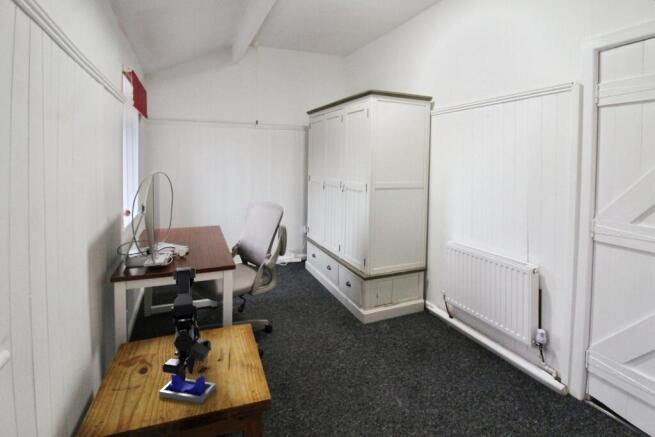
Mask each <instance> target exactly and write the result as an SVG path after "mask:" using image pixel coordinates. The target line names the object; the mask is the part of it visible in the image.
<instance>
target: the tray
mask: <svg viewBox="0 0 655 437" xmlns="http://www.w3.org/2000/svg"><path fill="white" fill-rule="evenodd" d="M196 380H197V379H192V378H191V379H190V378H186V379H185V382H187V383H188V384H191V385H195V384H196ZM171 382H172V380H170V381H168V383H167V384H165V385H164V386H163V387H162V388H161V389H160V390H158V392H159V393H158V396H159V397H160V398H166V399H173V400H178V401H181V402H182V401H183V402H188V403H194V404H200V405H203V404H204V403H205V402H206V401H207V399H209V397H210V396H211V395H212V394H213V393H214V391H215V390H216V389H217V385H216V384H217V383H215V382H209V381H205V392H204V393H203V394H202V395H201V396H197V395H193V394H189V393H185V394H183V393H178V392H172V391H169V384H170V383H171Z"/></svg>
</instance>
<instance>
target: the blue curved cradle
mask: <svg viewBox="0 0 655 437" xmlns="http://www.w3.org/2000/svg"><path fill="white" fill-rule="evenodd" d="M170 374H171V375H170V376H171V378H170V379H171V380H172V382H171V383H170V384H169V391H172V392H178V393H183V394H185V393H189V394H193V395H197V396H201V395H202V394H203V393H204V392H205V382H206V378H205V375H200V376H199V377H198V378H197V379H195V380H196V384H195V385H191V384H188V383H187V382H185V381H182V380H181V379H180V377H179V376H178V374H172V373H170ZM171 380H170V381H171Z"/></svg>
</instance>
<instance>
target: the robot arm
mask: <svg viewBox="0 0 655 437" xmlns="http://www.w3.org/2000/svg"><path fill="white" fill-rule="evenodd" d="M196 272H197V271H196V268H194V267H193V266H186V267H176V269H175V270H172V275H173V277H172V278H173V281H175V286H176V287H177V297H176V298H175V299H174V300H173V306H171V329H174V328H175V337H174V341H173V344H174V348H175V349H176V351H174V356H177V357H176V358H170V359H169V360H167V361H166V362H165V363H164V364H162V367H161V368H162V369H161V370H162V373H166V374H167V373H168V374H178V376H179V377H180V379H181V380H182V381H185V379H187V378H186V377H187V371H188V373H189V374H190V375H193V374H194V370H195V366H196V362H197V361H198V362H200V363H201V362H203V361H204V360H206V358H208V356H209V354H210V351H211V350H212V342H211V341H210V340H208V339H206V340H205V339H200V338H201V328H200V327H199V326H198V325H197V324H198V323H197V321H198V307H197V306H196V304H194V300H193V297H192V288H193V287H194V284H195V279H196V277H197V273H196Z"/></svg>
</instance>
